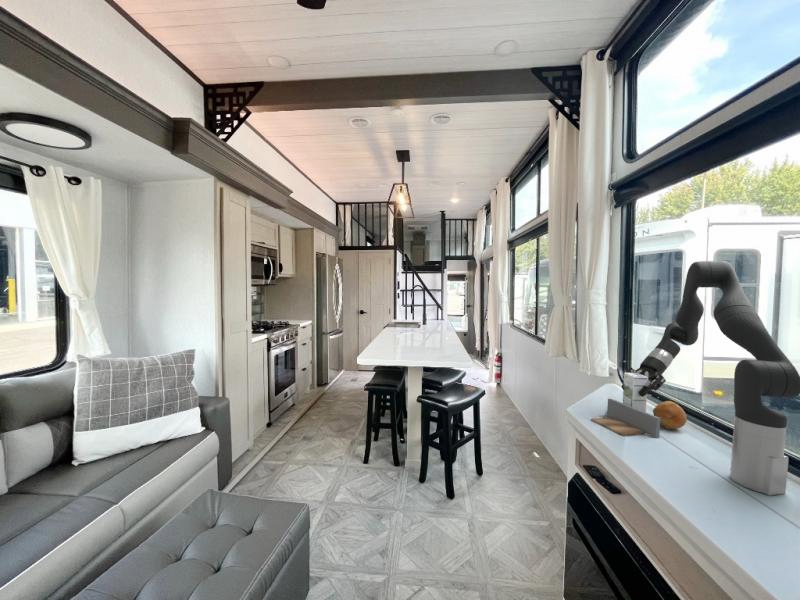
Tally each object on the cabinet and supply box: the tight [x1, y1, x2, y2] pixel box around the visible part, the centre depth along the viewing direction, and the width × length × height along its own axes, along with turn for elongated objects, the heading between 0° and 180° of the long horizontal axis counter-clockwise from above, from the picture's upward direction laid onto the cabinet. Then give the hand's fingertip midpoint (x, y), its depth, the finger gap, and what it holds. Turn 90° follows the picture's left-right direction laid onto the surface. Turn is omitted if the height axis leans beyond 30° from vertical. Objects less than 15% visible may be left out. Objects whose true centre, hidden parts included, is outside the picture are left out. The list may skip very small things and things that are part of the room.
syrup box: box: [622, 372, 648, 413], centre depth 129 cm, size 6×6×14 cm
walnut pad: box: [590, 416, 647, 437], centre depth 122 cm, size 14×10×1 cm
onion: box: [652, 400, 688, 430], centre depth 123 cm, size 10×10×10 cm
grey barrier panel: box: [606, 398, 661, 439], centre depth 123 cm, size 20×2×7 cm, turn 14°
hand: (631, 392), depth 129 cm, fingers closed on syrup box, 6 cm apart
